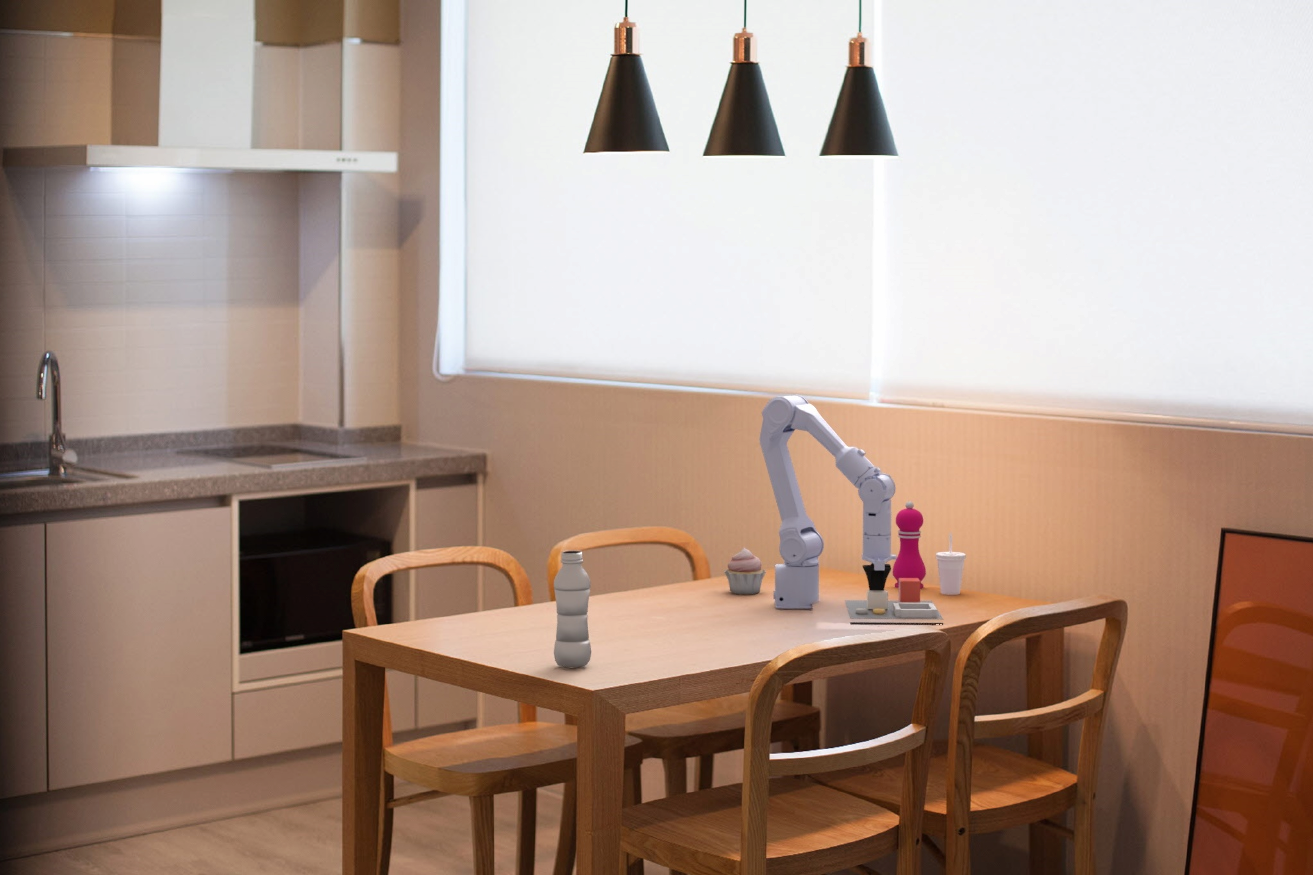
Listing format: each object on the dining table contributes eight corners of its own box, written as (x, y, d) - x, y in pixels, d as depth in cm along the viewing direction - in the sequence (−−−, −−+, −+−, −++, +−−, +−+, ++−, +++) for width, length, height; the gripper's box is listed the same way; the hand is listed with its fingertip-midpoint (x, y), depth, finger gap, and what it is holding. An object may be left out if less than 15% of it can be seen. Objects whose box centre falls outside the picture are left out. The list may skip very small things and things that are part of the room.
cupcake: (744, 587, 345) (744, 543, 344) (774, 592, 338) (774, 547, 338) (714, 592, 339) (714, 547, 338) (745, 597, 332) (745, 551, 331)
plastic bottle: (547, 669, 264) (546, 553, 262) (563, 661, 270) (562, 548, 269) (582, 672, 262) (580, 555, 260) (597, 664, 268) (596, 550, 266)
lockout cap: (900, 605, 315) (900, 581, 315) (898, 601, 319) (898, 577, 319) (920, 605, 315) (920, 581, 315) (918, 601, 319) (918, 578, 319)
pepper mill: (892, 588, 342) (892, 499, 341) (925, 589, 341) (925, 499, 340) (892, 594, 335) (893, 503, 334) (926, 595, 334) (926, 503, 333)
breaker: (867, 609, 310) (867, 592, 310) (866, 606, 313) (867, 590, 313) (887, 609, 310) (887, 592, 310) (886, 607, 313) (886, 590, 312)
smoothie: (964, 596, 333) (964, 531, 332) (967, 601, 326) (967, 535, 325) (933, 595, 333) (934, 531, 332) (936, 601, 327) (936, 535, 326)
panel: (850, 624, 302) (850, 610, 302) (844, 605, 322) (844, 593, 322) (943, 625, 301) (943, 611, 300) (931, 606, 321) (931, 593, 320)
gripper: (900, 538, 305) (899, 606, 306) (893, 529, 319) (893, 593, 321) (864, 538, 306) (863, 606, 307) (859, 528, 320) (859, 593, 321)
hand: (876, 600), depth 314 cm, fingers closed
